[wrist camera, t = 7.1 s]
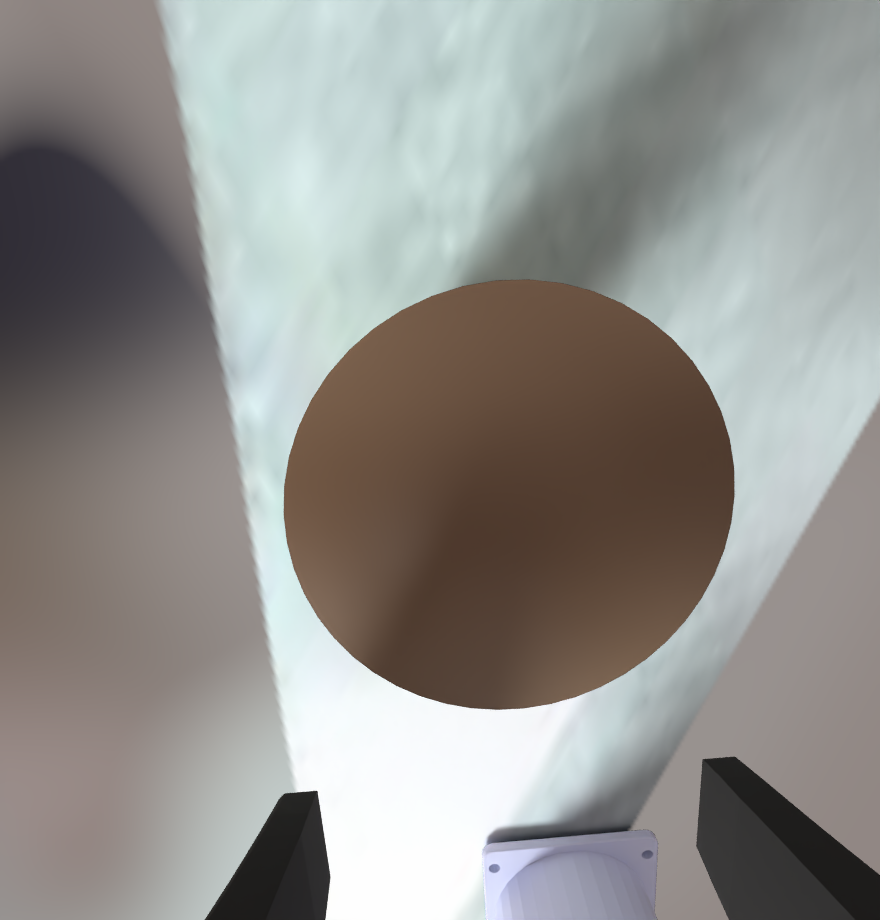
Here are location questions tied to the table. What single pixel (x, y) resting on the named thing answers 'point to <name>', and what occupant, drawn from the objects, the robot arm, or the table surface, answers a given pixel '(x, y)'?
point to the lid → (509, 494)
